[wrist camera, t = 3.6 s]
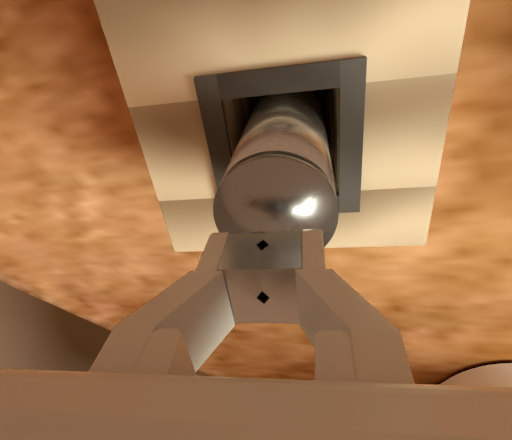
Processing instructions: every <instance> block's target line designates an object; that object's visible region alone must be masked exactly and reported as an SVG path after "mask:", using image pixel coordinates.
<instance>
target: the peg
mask: <svg viewBox="0 0 512 440" xmlns="http://www.w3.org/2000/svg"><path fill="white" fill-rule="evenodd" d="M213 216H214V221H215V224H216V227H217V229H218V231H219V232H264V231H266V232H274V231H294V230H305V229H319V228H321V229H322V231H323V243H324V247H325V246H326V245H327V244H328V243H329V241H330V240H331V238H332V237H333V235H334V233H335V230H336V228H337V224H338V217H339V211H338V203H337V197H336V190H335V184H334V178H333V172H332V165H331V159H330V153H329V147H328V141H327V134H326V128H325V122H324V116H323V111H322V107H321V104H320V103H319V101H318V99H317V98H316V96H315V95H314V94H313V93H312V92H310V91H303V92H293V93H284V94H274V95H264V96H261V97H260V98H259V100H258V101H257V103H256V105H255V107H254V110H253V112H252V114H251V116H250V118H249V121H248V123H247V125H246V127H245V130H244V132H243V134H242V136H241V138H240V141H239V143H238V145H237V147H236V150H235V152H234V154H233V156H232V159H231V161H230V163H229V165H228V167H227V170H226V172H225V174H224V176H223V179H222V181H221V183H220V185H219V187H218V190H217V192H216V195H215V198H214V203H213Z"/></svg>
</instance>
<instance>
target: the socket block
mask: <svg viewBox="0 0 512 440" xmlns="http://www.w3.org/2000/svg"><path fill="white" fill-rule="evenodd" d="M93 1H94V4H95V7H96V10H97V13H98V16H99V19H100V23H101V26H102V29H103V32H104V35H105V38H106V41H107V44H108V47H109V50H110V53H111V56H112V59H113V63H114V66H115V69H116V72H117V75H118V78H119V81H120V84H121V87H122V90H123V93H124V96H125V99H126V103H127V106H128V109H129V112H130V115H131V118H132V121H133V124H134V127H135V130H136V133H137V136H138V139H139V143H140V146H141V149H142V152H143V155H144V158H145V161H146V164H147V167H148V170H149V173H150V176H151V179H152V183H153V186H154V189H155V192H156V195H157V198H158V201H159V204H160V207H161V210H162V213H163V216H164V219H165V223H166V226H167V229H168V232H169V235H170V238H171V241H172V244H173V247H174V250H175V252H187V251H204V248H205V246H206V243H207V241H208V238H209V236H210V234H212V233H216V232H219V231H218V229H217V227H216V224H215V221H214V216H213V203H214V198H215V195H216V192H217V190H218V187H219V185H220V183H221V181H222V179H223V176H224V174H225V172H226V170H227V167H228V165H229V163H230V161H231V159H232V156H233V154H234V152H235V150H236V147H237V145H238V143H239V141H240V138H241V136H242V134H243V132H244V130H245V127H246V125H247V123H248V121H249V118H250V116H251V114H252V112H253V110H254V107H255V105H256V103H257V100H256V96H264V95H274V94H284V93H293V92H303V91H312V90H322V89H327V127H325V128H326V134H327V141H328V147H329V153H330V159H331V165H332V172H333V178H334V184H335V190H336V197H337V203H338V211H339V217H338V224H337V228H336V230H335V233H334V235H333V237H332V238H331V240H330V241H329V243H328V244H327V245H326V246H325V247H324V248H341V247H380V246H419V245H426V241H427V235H428V230H429V224H430V219H431V213H432V208H433V202H434V197H435V191H436V186H437V180H438V175H439V169H440V164H441V158H442V153H443V147H444V142H445V136H446V131H447V126H448V120H449V115H450V109H451V104H452V98H453V93H454V87H455V82H456V76H457V71H458V65H459V60H460V54H461V49H462V43H463V38H464V32H465V27H466V21H467V16H468V10H469V5H470V0H93Z"/></svg>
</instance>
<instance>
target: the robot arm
mask: <svg viewBox="0 0 512 440" xmlns="http://www.w3.org/2000/svg"><path fill="white" fill-rule="evenodd" d="M235 323H286V324H300V326H301V328H302V329H303V331H304V332H305V334H306V335H307V337H308V339H309V340H310V342H311V343H312V345H313V346H314V348H315V380H297V379H270V378H243V377H216V376H197V374H196V371H197V370H198V369H199V368H200V367H201V365H202V364H203V363H204V362H205V361H206V359H207V358H208V357H209V356H210V355H211V354H212V352H213V351H214V350H215V349H216V348H217V346H218V345H219V344H220V343H221V342H222V340H223V339H224V338H225V337H226V336H227V334H228V333H229V332H230V331H231V330H232V328H233V327H234V326H235ZM0 440H512V363H501V364H492V365H486V366H481V367H477V368H473V369H469V370H466V371H464V372H461V373H459V374H457V375H455V376H453V377H451V378H449V379H447V380H446V381H444V382H442V383H441V384H438V385H433V384H415V382H414V379H413V375H412V372H411V368H410V365H409V361H408V358H407V354H406V351H405V347H404V344H403V340H402V337H401V334H400V330H399V329H398V328H396V327H395V326H394V325H393V324H392V323H391V322H390V321H389V320H388V319H386V318H385V317H384V316H383V315H382V314H381V313H380V312H379V311H378V310H377V309H375V308H374V307H373V306H372V305H371V304H370V303H369V302H368V301H367V300H365V299H364V298H363V297H362V296H361V295H360V294H359V293H358V292H357V291H356V290H354V289H353V288H352V287H351V286H350V285H349V284H348V283H347V282H346V281H345V280H343V279H342V278H341V277H340V276H339V275H338V274H337V273H336V272H335V271H333V270H332V269H326V267H325V255H324V243H323V231H322V229H321V228H319V229H305V230H294V231H274V232H266V231H264V232H216V233H212V234H210V236H209V238H208V241H207V243H206V246H205V248H204V251H203V253H202V256H201V258H200V261H199V264H198V266H197V269H196V271H190V272H188V273H187V274H186V275H184V276H183V277H182V278H180V279H179V280H177V281H176V282H175V283H173V284H172V285H171V286H169V287H168V288H166V289H165V290H164V291H162V292H161V293H160V294H158V295H157V296H155V297H154V298H153V299H151V300H150V301H149V302H147V303H146V304H144V305H143V306H142V307H140V308H139V309H138V310H136V311H135V312H133V313H132V314H131V315H129V316H128V317H127V318H125V319H124V320H122V321H121V322H120V323H118V324H117V325H116V326H114V328H113V330H112V332H111V334H110V335H109V337H108V339H107V340H106V342H105V344H104V345H103V347H102V349H101V351H100V352H99V354H98V356H97V358H96V359H95V361H94V363H93V365H92V366H91V368H90V370H89V371H88V372H80V371H52V370H24V369H0Z"/></svg>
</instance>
